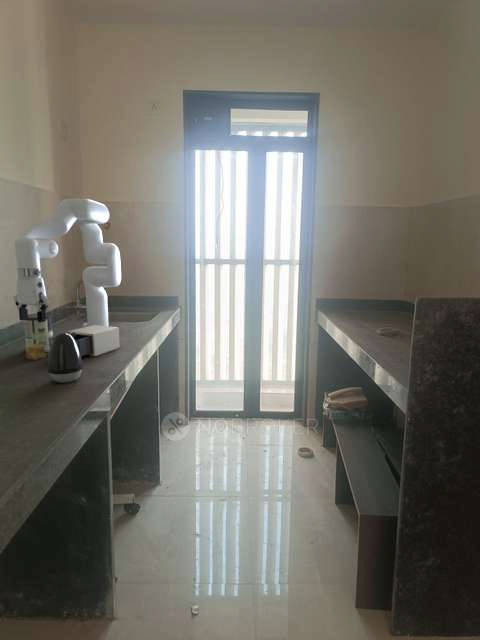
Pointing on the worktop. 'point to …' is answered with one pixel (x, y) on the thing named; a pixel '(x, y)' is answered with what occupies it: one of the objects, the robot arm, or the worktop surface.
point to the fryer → (100, 338)
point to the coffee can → (38, 331)
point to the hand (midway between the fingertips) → (32, 320)
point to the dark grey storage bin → (81, 344)
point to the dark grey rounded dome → (64, 359)
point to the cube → (35, 351)
